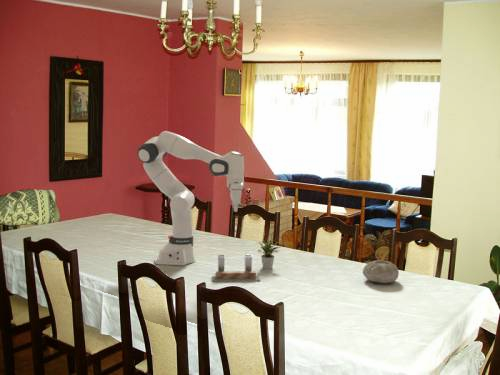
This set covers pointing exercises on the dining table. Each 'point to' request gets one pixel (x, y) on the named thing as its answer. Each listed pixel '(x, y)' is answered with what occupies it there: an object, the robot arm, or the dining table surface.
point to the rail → (236, 275)
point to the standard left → (221, 263)
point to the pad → (233, 279)
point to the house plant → (268, 254)
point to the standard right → (248, 262)
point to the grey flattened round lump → (381, 271)
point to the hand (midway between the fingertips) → (234, 209)
